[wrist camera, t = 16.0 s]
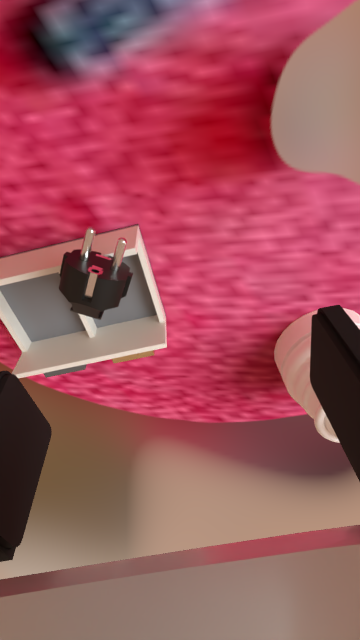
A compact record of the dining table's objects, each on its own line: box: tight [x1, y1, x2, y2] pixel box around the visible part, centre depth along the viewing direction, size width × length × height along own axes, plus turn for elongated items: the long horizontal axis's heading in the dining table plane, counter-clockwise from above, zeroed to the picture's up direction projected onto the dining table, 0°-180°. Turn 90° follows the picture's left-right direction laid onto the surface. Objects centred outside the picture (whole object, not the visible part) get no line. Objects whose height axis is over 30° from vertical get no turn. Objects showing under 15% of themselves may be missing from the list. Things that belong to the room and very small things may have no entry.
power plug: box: [59, 227, 133, 320], centre depth 31 cm, size 6×8×12 cm
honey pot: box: [274, 308, 360, 443], centre depth 39 cm, size 13×13×18 cm
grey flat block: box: [44, 364, 86, 377], centre depth 43 cm, size 1×5×4 cm, turn 103°
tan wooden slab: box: [112, 350, 154, 363], centre depth 42 cm, size 1×5×4 cm, turn 102°
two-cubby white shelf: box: [0, 224, 167, 378], centre depth 37 cm, size 12×18×6 cm, turn 103°
